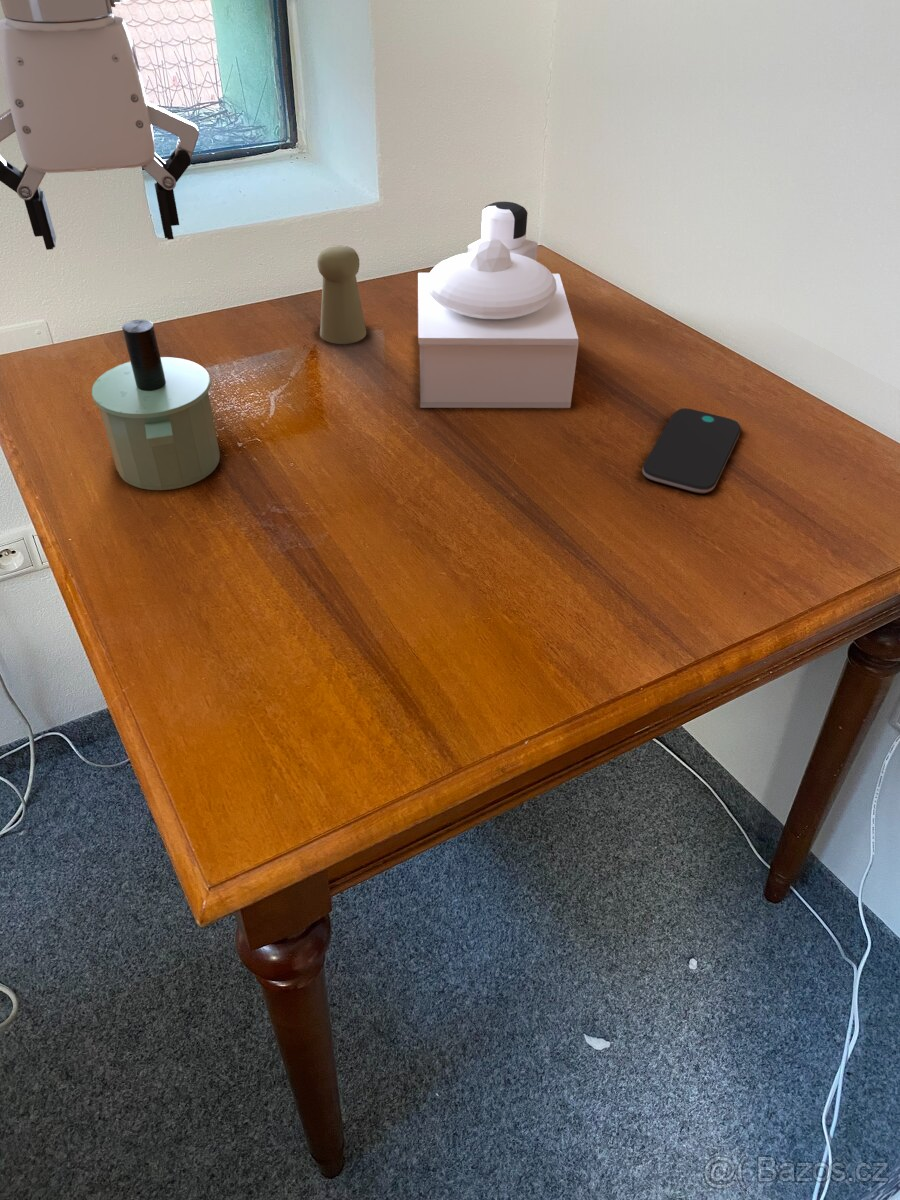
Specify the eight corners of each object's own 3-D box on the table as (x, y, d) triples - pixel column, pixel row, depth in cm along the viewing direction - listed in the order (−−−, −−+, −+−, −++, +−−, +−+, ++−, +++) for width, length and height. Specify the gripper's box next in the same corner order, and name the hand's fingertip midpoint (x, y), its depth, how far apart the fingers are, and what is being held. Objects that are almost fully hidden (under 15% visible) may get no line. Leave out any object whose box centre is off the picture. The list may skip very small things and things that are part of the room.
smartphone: (744, 421, 98) (712, 491, 88) (742, 428, 98) (710, 498, 89) (677, 404, 100) (638, 470, 90) (676, 411, 101) (637, 477, 91)
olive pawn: (374, 328, 115) (371, 244, 108) (351, 347, 111) (346, 261, 104) (334, 319, 117) (328, 235, 110) (311, 337, 113) (302, 252, 106)
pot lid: (95, 431, 81) (74, 361, 76) (93, 374, 89) (74, 307, 84) (218, 414, 84) (205, 345, 79) (205, 360, 92) (192, 294, 87)
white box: (553, 338, 114) (566, 212, 103) (570, 410, 101) (588, 274, 90) (418, 337, 114) (417, 211, 103) (418, 410, 100) (417, 273, 90)
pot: (121, 513, 85) (98, 438, 79) (114, 430, 96) (94, 358, 90) (229, 495, 88) (215, 421, 82) (211, 416, 98) (197, 346, 93)
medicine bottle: (493, 279, 128) (497, 193, 119) (534, 292, 125) (542, 204, 116) (464, 295, 123) (467, 207, 115) (507, 309, 120) (513, 219, 112)
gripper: (173, -11, 68) (208, 216, 80) (-69, -7, 64) (4, 232, 76) (182, 5, 63) (218, 245, 75) (-81, 10, 59) (0, 264, 70)
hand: (110, 239), depth 75 cm, fingers open, 9 cm apart
